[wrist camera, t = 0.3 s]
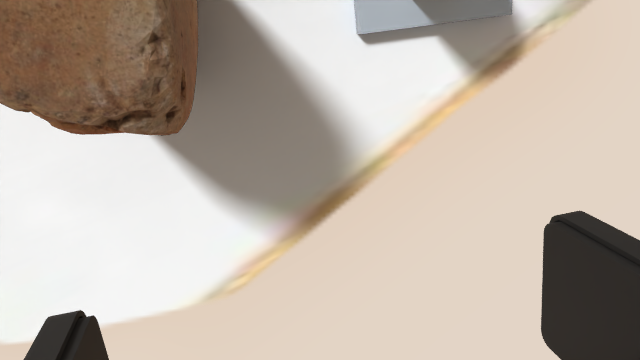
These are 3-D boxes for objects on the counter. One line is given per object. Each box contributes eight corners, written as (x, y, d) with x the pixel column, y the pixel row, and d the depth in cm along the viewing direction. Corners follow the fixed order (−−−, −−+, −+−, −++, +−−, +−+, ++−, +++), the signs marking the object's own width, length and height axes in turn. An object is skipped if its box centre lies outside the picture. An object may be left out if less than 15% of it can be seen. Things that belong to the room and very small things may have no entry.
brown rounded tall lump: (77, -66, 33) (-101, -181, 14) (197, -59, 34) (179, -154, 16) (94, 102, 36) (-33, 191, 17) (203, 102, 37) (194, 184, 19)
